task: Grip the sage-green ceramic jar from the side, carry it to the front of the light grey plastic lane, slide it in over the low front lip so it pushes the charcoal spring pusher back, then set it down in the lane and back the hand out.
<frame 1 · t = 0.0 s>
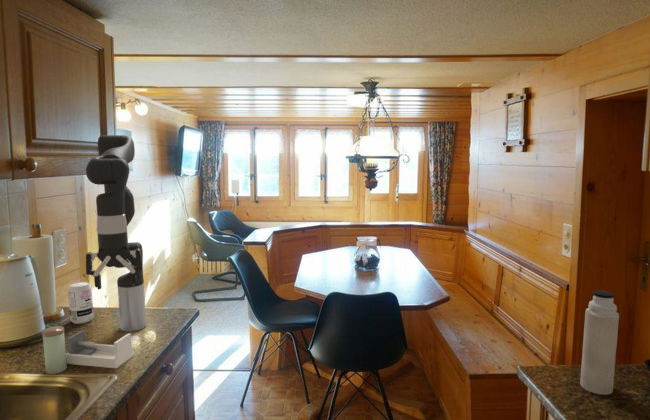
hand: (116, 286, 126), 29 cm above the worktop, tool pointing down, fingers open, 8 cm apart
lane: (98, 359, 145), on the worktop
supplement can: (82, 320, 179), on the worktop
thermos bottle: (596, 387, 127), on the worktop
pusher: (84, 344, 145), point 5 cm above the worktop, slide at 0.0 cm
jar: (56, 369, 138), on the worktop
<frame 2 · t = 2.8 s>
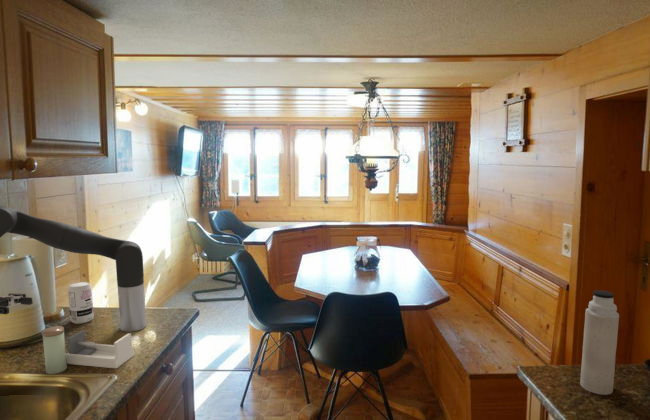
hand: (20, 305, 138), 20 cm above the worktop, tool horizontal, fingers open, 8 cm apart
nothing on the worktop moved.
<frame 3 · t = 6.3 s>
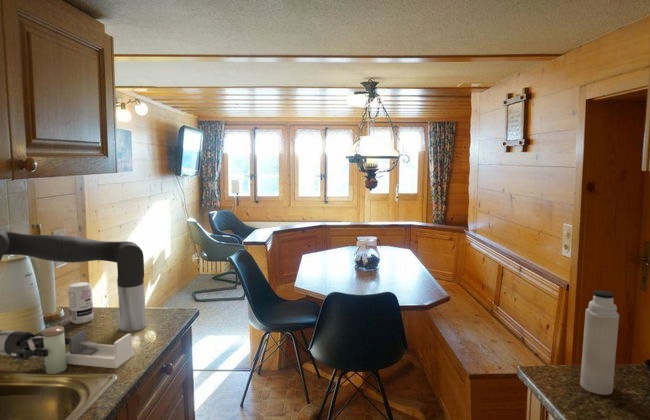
hand: (58, 347, 137), 7 cm above the worktop, tool horizontal, fingers open, 8 cm apart
pusher: (86, 344, 145), point 5 cm above the worktop, slide at 0.4 cm, touching gripper
everything else where it was.
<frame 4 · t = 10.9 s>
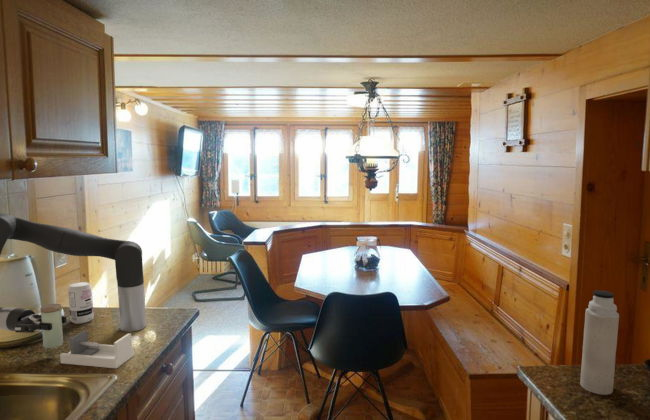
hand: (58, 323, 146), 11 cm above the worktop, tool horizontal, fingers closed on jar, 5 cm apart
pusher: (87, 344, 145), point 5 cm above the worktop, slide at 0.9 cm
jar: (53, 344, 148), point 4 cm above the worktop, touching gripper
everything else where it was.
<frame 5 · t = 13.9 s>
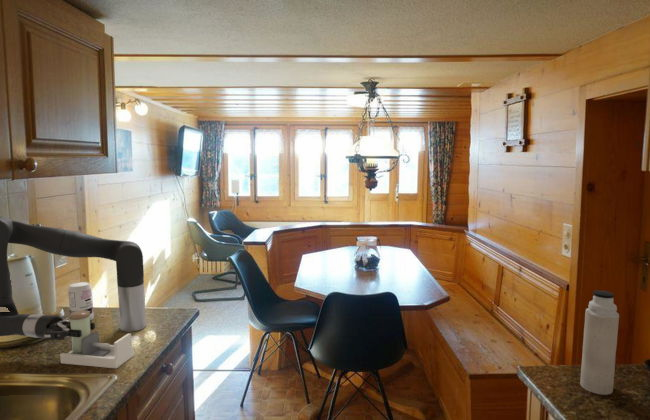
hand: (87, 329, 145), 10 cm above the worktop, tool horizontal, fingers closed on jar, 5 cm apart
pusher: (98, 345, 145), point 5 cm above the worktop, slide at 5.2 cm, touching jar
jar: (82, 351, 146), point 2 cm above the worktop, touching gripper, pusher
everything else where it was.
when the fingers open (9 cm above the worktop, at t = 15.0 s): jar stays where it is, resting on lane, pusher.
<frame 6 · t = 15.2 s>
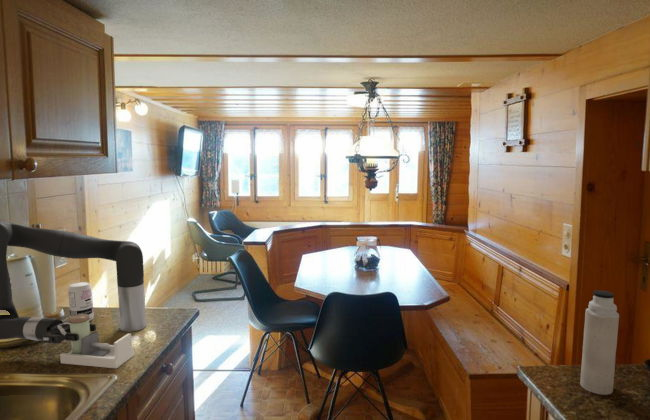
hand: (86, 332, 145), 9 cm above the worktop, tool horizontal, fingers open, 7 cm apart
jar: (82, 354, 146), point 1 cm above the worktop, touching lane, pusher
everything else where it was.
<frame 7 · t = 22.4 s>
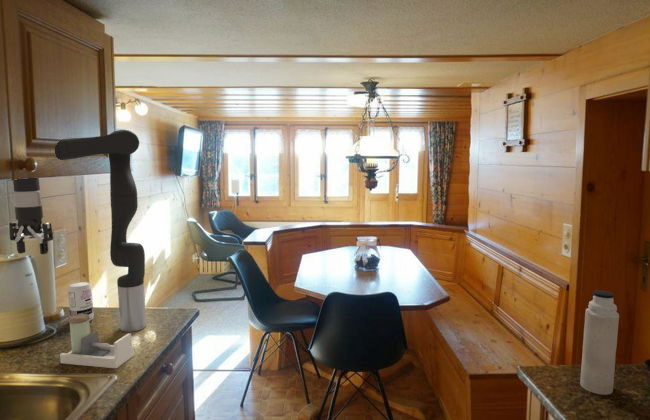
hand: (32, 253, 147), 34 cm above the worktop, tool pointing down, fingers open, 8 cm apart
nothing on the worktop moved.
at the end: jar 0.3 cm from the target spot on the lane, point 1.0 cm above the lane's base; pusher slide at 5.0 cm; jar tilted 0° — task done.
